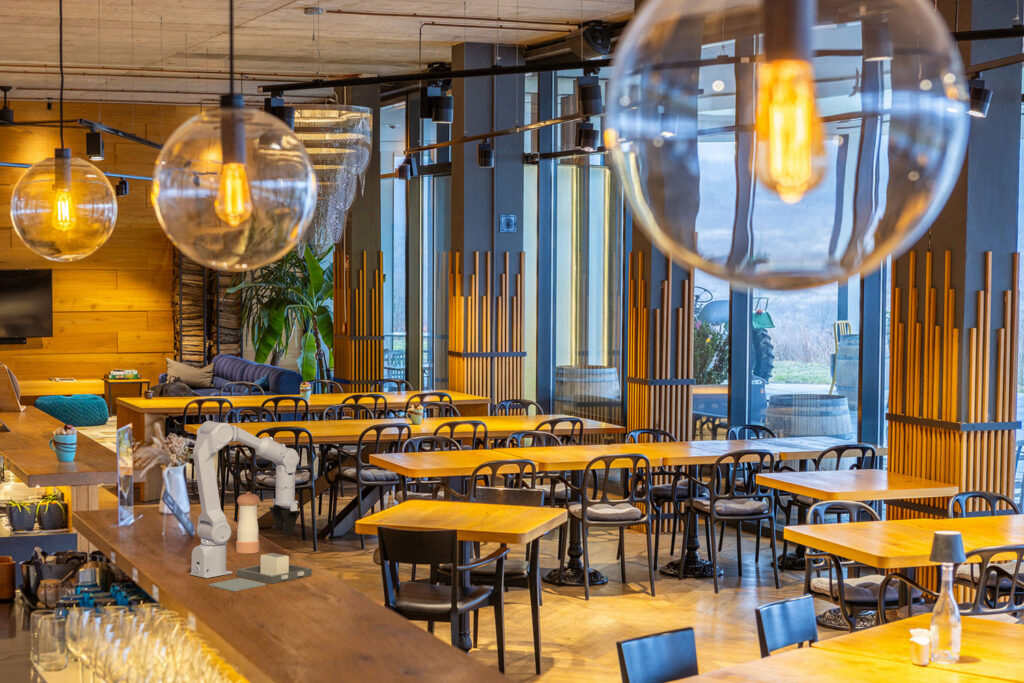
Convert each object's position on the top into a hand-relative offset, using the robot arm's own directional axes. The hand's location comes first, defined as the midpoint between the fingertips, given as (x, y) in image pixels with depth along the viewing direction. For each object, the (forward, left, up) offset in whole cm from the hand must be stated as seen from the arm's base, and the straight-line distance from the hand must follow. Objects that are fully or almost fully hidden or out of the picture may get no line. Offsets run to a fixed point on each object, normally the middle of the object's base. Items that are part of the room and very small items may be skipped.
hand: (284, 531), depth 347 cm
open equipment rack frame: (-13, -11, -10) cm, 20 cm away
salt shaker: (+6, +24, -10) cm, 26 cm away
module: (-13, -11, -10) cm, 20 cm away
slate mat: (-28, -13, -10) cm, 33 cm away
